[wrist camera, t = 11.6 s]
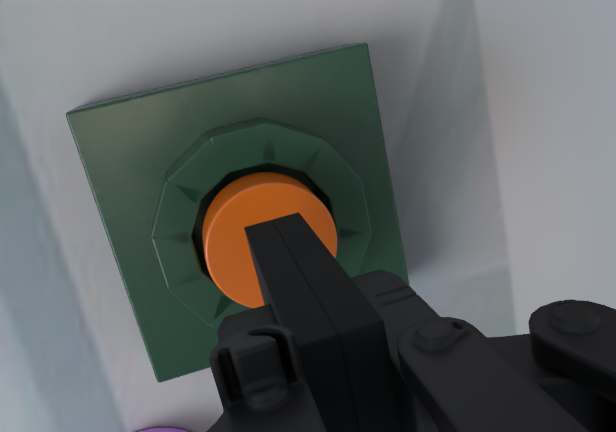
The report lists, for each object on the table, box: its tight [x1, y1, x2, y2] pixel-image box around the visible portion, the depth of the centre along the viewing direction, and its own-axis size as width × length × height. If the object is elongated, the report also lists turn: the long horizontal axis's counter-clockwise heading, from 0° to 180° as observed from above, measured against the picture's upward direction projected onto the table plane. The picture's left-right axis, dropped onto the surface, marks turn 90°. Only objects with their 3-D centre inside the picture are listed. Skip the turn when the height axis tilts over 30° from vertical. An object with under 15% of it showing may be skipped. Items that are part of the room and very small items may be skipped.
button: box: [202, 172, 337, 308], centre depth 18 cm, size 4×4×2 cm
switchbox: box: [66, 43, 410, 382], centre depth 20 cm, size 10×10×4 cm
